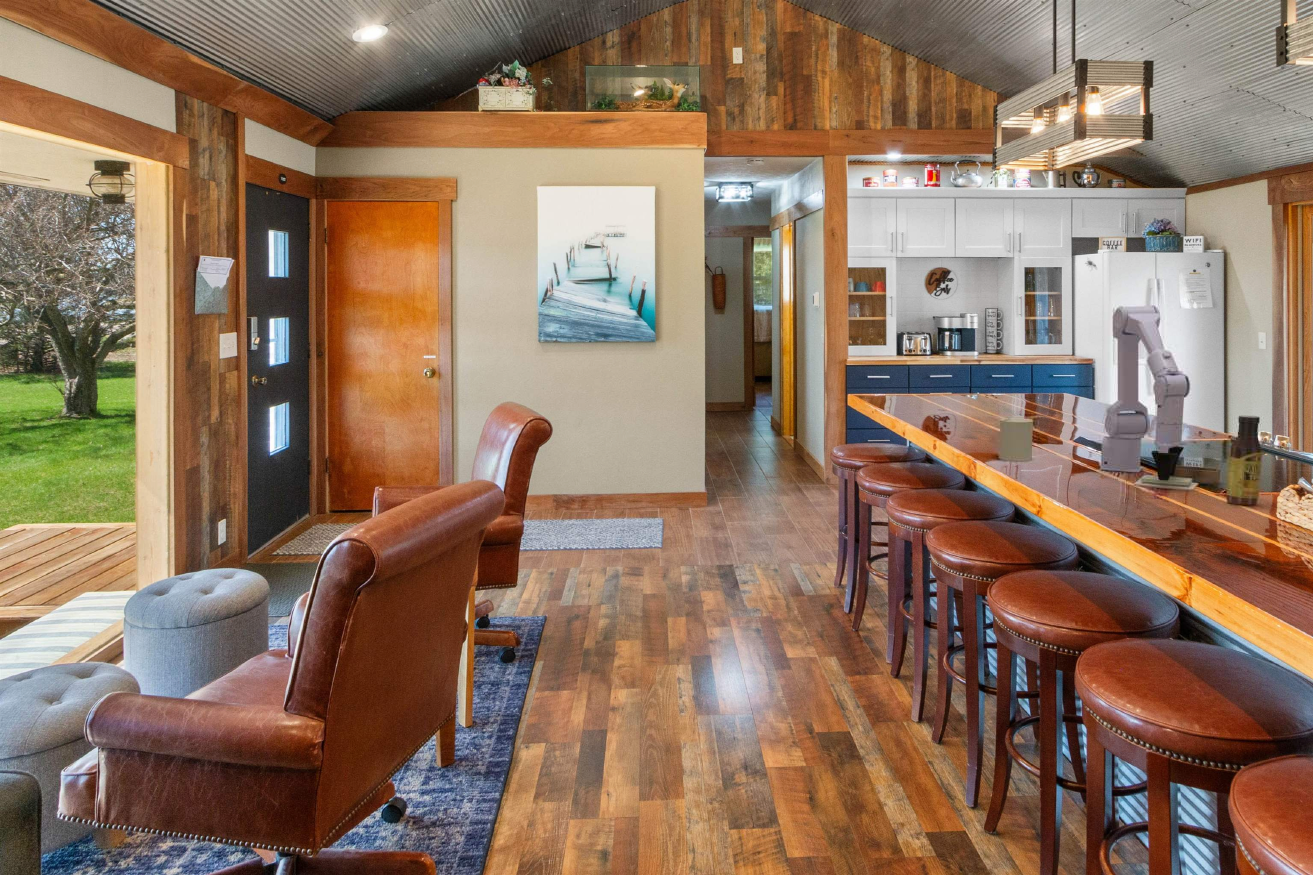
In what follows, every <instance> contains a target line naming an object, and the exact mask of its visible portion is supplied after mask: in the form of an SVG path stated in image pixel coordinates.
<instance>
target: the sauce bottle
mask: <svg viewBox="0 0 1313 875" xmlns="http://www.w3.org/2000/svg"><path fill="white" fill-rule="evenodd" d="M1237 418H1238V432H1237V436H1236V437H1235V439H1234V440H1233V441H1232V443H1231V446H1230V454H1229V458H1228V471H1227V480H1226V481H1227V482H1226V503H1228V504H1232V505H1239V506H1254V505H1256V504H1257V503H1258V499H1259V495H1260V485H1261V473H1262V463H1263V462H1262V460H1263V450H1262V447H1261V444H1260V440H1259V437H1258V435H1259V433H1258V431H1259V424H1260V421H1261V420H1260V416H1257V415H1239V416H1238V417H1237Z"/></svg>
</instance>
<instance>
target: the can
mask: <svg viewBox="0 0 1313 875" xmlns="http://www.w3.org/2000/svg"><path fill="white" fill-rule="evenodd" d="M1033 429H1034V420H1033V419H1031V418H1023V417H1004V418H1000V420H999V451H998V452H999V454H998V459H999V460H1001V461H1005V462H1030V461H1032V460H1033V431H1034V430H1033Z"/></svg>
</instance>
